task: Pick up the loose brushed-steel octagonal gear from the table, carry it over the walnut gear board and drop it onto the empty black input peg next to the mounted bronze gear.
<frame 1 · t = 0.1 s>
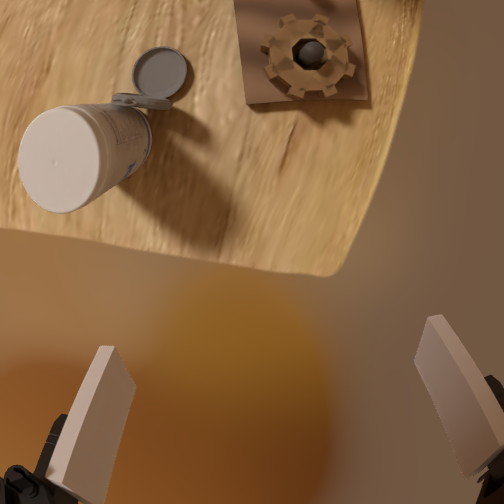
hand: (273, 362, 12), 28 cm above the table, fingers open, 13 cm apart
pocket watch: (157, 82, 31), on the table
supplement tub: (119, 139, 34), on the table
gear board: (296, 11, 27), on the table
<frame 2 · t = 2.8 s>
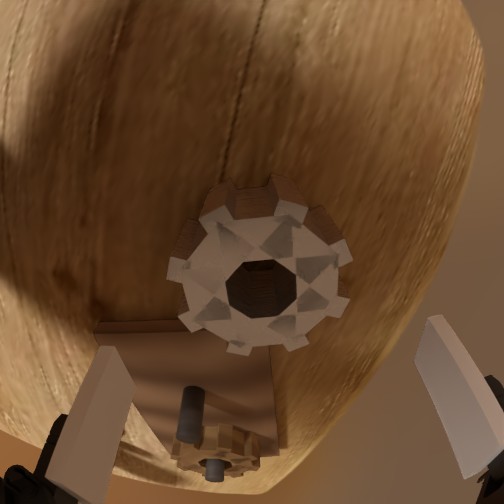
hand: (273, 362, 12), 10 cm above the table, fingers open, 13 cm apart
steel gear: (258, 246, 20), on the table
gear board: (205, 403, 28), on the table
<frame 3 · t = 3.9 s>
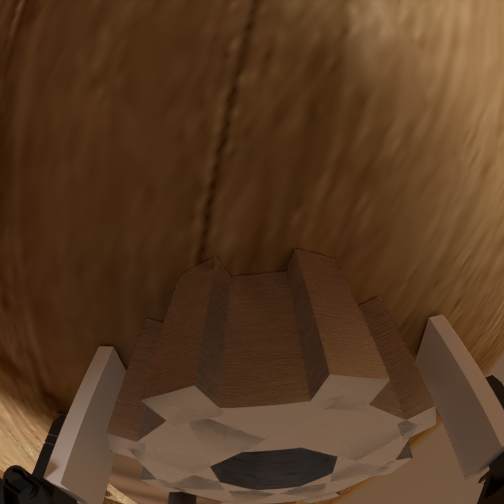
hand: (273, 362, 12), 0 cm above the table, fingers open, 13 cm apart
steel gear: (267, 358, 12), on the table
gear board: (198, 488, 20), on the table
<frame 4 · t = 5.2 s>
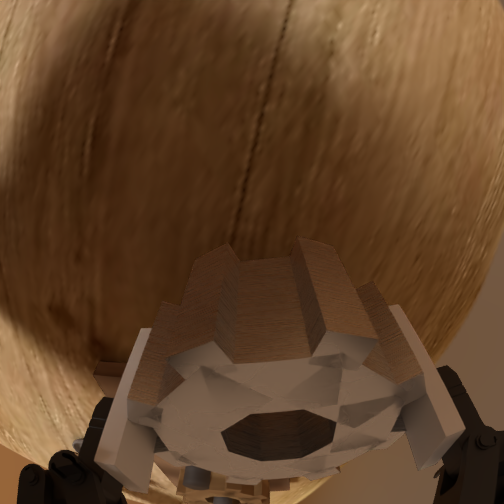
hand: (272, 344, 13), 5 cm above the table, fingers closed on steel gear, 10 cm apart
steel gear: (272, 339, 13), point 5 cm above the table, touching gripper
gear board: (214, 442, 25), on the table
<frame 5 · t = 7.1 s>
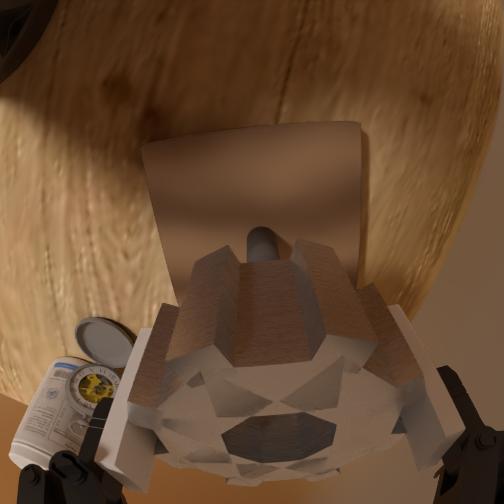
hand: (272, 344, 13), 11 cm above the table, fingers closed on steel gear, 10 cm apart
steel gear: (272, 341, 13), point 11 cm above the table, touching gripper
pocket watch: (106, 345, 28), on the table
supplement tub: (85, 378, 31), on the table
gear board: (265, 277, 24), on the table
when the fingers open (3 cm above the table, at t = 9.3 s): steel gear stays where it is, resting on gear board.
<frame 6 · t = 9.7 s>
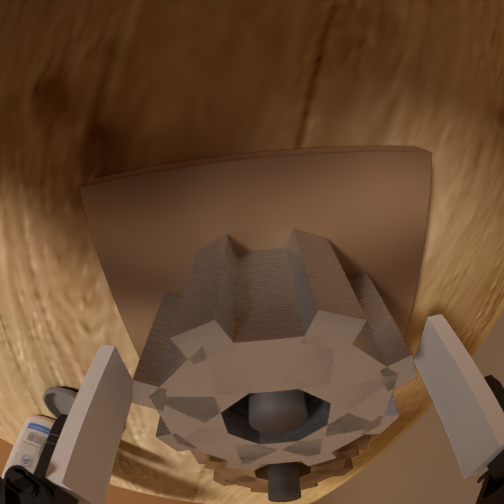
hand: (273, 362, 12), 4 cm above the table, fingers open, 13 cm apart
steel gear: (270, 328, 14), point 1 cm above the table, touching gear board
pocket watch: (81, 412, 21), on the table
supplement tub: (65, 435, 24), on the table
gear board: (274, 361, 17), on the table
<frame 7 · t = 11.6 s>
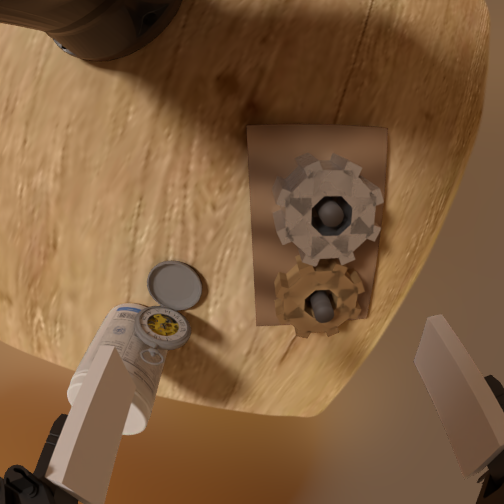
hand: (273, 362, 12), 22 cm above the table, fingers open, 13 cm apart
steel gear: (319, 199, 30), point 1 cm above the table, touching gear board
pocket watch: (172, 289, 37), on the table
supplement tub: (139, 327, 39), on the table
gear board: (316, 230, 33), on the table
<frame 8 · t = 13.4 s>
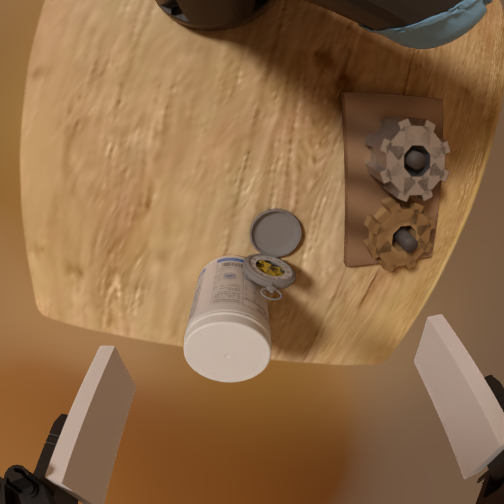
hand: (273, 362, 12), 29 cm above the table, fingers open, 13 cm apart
steel gear: (398, 153, 34), point 1 cm above the table, touching gear board
pocket watch: (271, 238, 41), on the table
supplement tub: (232, 280, 44), on the table
gear board: (393, 180, 37), on the table
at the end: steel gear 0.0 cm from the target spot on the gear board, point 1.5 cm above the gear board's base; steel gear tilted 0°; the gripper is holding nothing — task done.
